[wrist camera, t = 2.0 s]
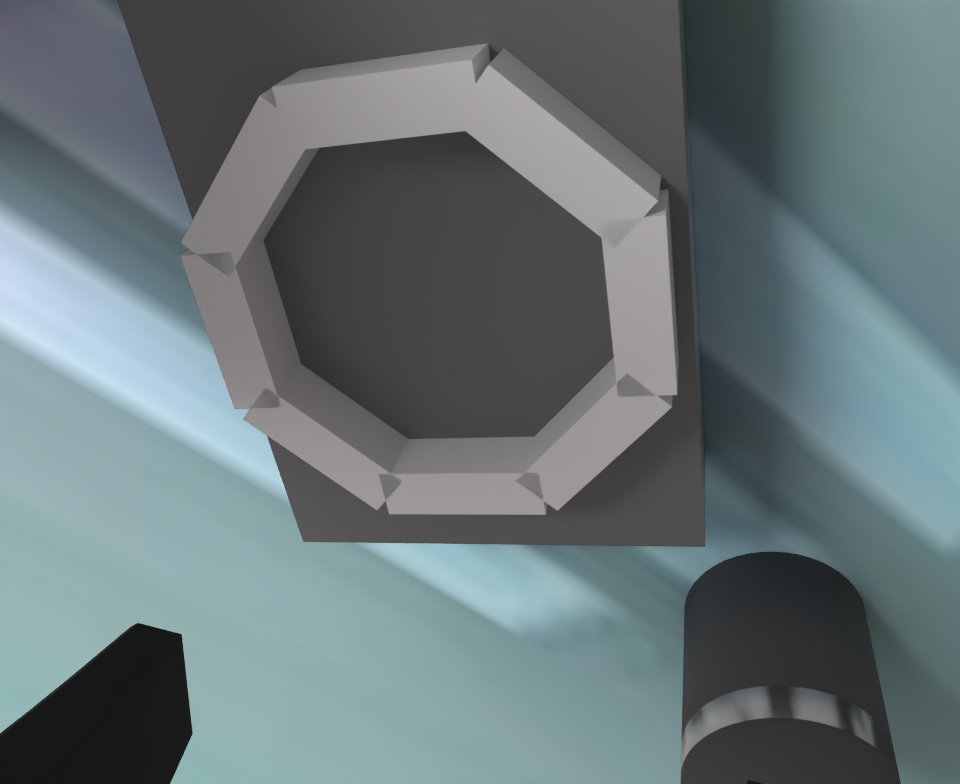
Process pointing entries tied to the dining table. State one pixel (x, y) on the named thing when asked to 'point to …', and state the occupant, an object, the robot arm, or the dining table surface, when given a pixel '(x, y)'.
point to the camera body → (446, 258)
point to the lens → (781, 678)
